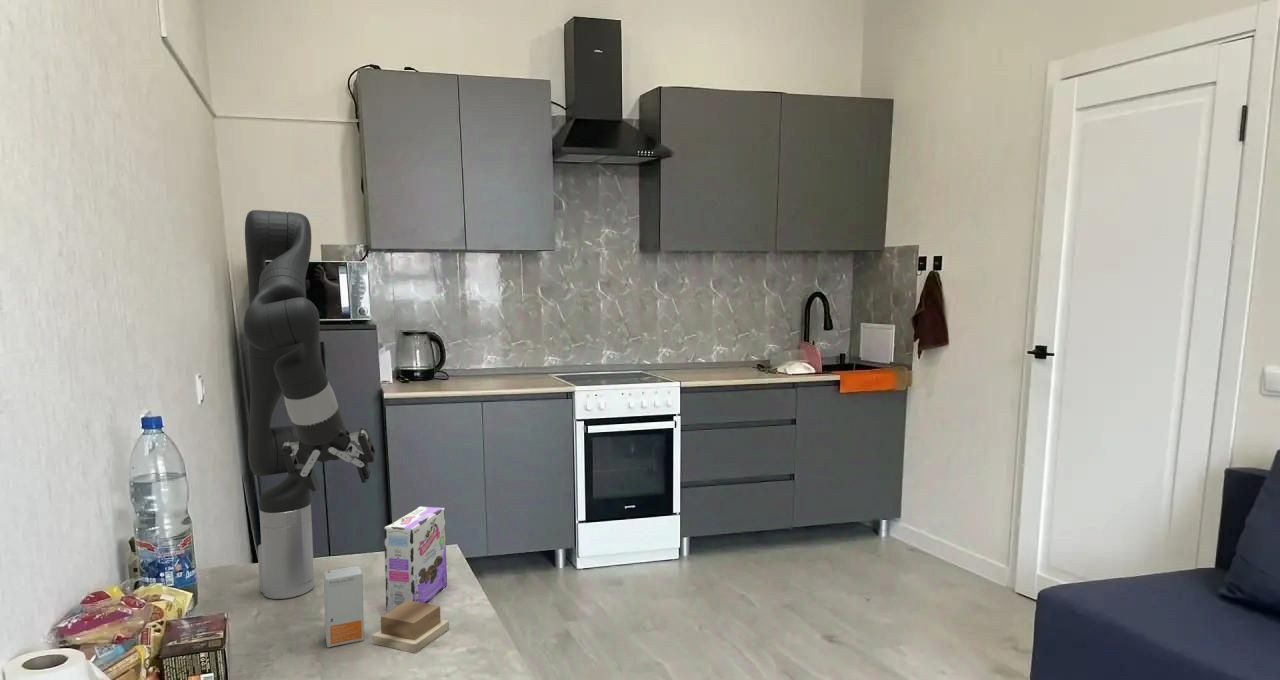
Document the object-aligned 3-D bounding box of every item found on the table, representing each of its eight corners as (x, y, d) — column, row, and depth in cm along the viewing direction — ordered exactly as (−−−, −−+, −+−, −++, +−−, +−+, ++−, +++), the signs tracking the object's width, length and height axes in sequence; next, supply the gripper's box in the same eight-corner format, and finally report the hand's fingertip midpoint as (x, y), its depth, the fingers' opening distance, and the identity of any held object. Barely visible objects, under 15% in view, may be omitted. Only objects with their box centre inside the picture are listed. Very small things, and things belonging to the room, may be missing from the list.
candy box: (414, 615, 134) (411, 528, 133) (385, 613, 135) (382, 526, 134) (448, 585, 147) (446, 506, 146) (421, 583, 148) (419, 504, 147)
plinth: (372, 643, 123) (371, 618, 123) (407, 620, 132) (407, 596, 131) (415, 653, 120) (414, 626, 120) (448, 629, 128) (448, 604, 128)
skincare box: (327, 649, 122) (324, 579, 121) (325, 638, 125) (322, 571, 124) (365, 640, 124) (363, 572, 123) (362, 630, 128) (360, 564, 127)
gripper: (361, 390, 124) (384, 464, 132) (274, 404, 122) (303, 477, 131) (354, 416, 118) (379, 491, 126) (263, 430, 116) (294, 505, 124)
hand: (340, 484), depth 128 cm, fingers open, 8 cm apart
